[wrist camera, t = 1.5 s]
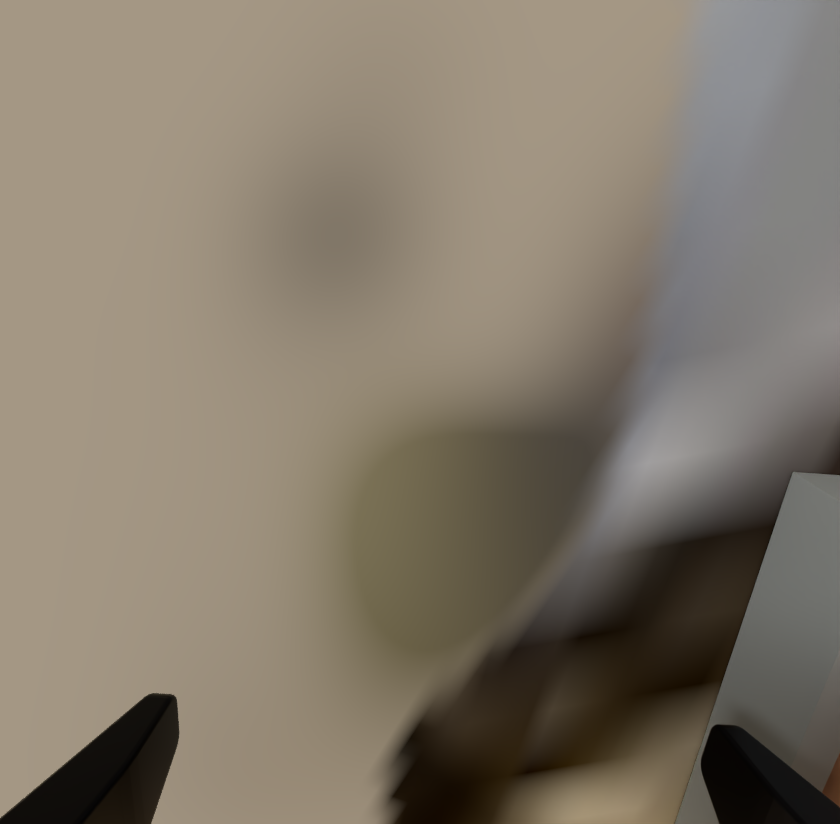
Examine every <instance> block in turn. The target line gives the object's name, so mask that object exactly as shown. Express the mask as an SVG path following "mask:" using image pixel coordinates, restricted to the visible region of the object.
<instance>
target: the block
mask: <svg viewBox="0 0 840 824" xmlns="http://www.w3.org/2000/svg"><path fill="white" fill-rule="evenodd" d="M822 793H823V794H824V795H826V796H827V797H828V798H829V799H830V800H832V801H833V802H834V803H835V804H837V805H838V806H839V807H840V753H839V755H838V758H837V760H836V762H835V764H834V767H833V769H832V771H831V773H830V776H829V778H828V780H827V782H826V784H825V787H824V789H823V791H822Z"/></svg>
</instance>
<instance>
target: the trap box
mask: <svg viewBox="0 0 840 824" xmlns="http://www.w3.org/2000/svg"><path fill="white" fill-rule="evenodd" d="M716 724H724V725H736V726H739V727H741V728H743V729H744V730H746V731H747V732H748V733H749V734H751V735H752V736H753V737H754V738H755V739H757V740H758V741H759V742H760V743H762V744H763V745H764V746H765V747H767V748H768V749H769V750H770V751H771V752H773V753H774V754H775V755H776V756H778V757H779V758H780V759H781V760H783V761H784V762H785V763H786V764H787V765H789V766H790V767H791V768H792V769H794V770H795V771H796V772H797V773H798V774H800V775H801V776H802V777H803V778H805V779H806V780H807V781H808V782H810V783H811V784H812V785H813V786H814V787H816V788H817V789H818V790H819V791H821V792H822V791H823V789H824V787H825V784H826V782H827V780H828V778H829V776H830V773H831V771H832V769H833V767H834V764H835V762H836V760H837V758H838V755H839V753H840V475H828V474H814V473H801V472H793V473H792V476H791V479H790V482H789V485H788V488H787V491H786V494H785V497H784V500H783V503H782V506H781V509H780V512H779V515H778V518H777V521H776V524H775V527H774V530H773V533H772V536H771V539H770V542H769V545H768V548H767V551H766V554H765V556H764V559H763V562H762V565H761V568H760V571H759V574H758V577H757V580H756V583H755V586H754V589H753V592H752V595H751V598H750V601H749V604H748V607H747V610H746V613H745V616H744V619H743V622H742V625H741V628H740V631H739V634H738V637H737V640H736V643H735V646H734V649H733V652H732V655H731V658H730V661H729V664H728V667H727V670H726V673H725V676H724V679H723V682H722V685H721V688H720V690H719V693H718V696H717V699H716V702H715V705H714V708H713V711H712V714H711V717H710V720H709V723H708V726H707V729H706V732H705V735H704V738H703V741H702V744H701V747H700V750H699V753H698V756H697V759H696V762H695V765H694V768H693V771H692V774H691V777H690V780H689V783H688V786H687V789H686V792H685V795H684V798H683V801H682V804H681V807H680V810H679V813H678V816H677V819H676V822H675V824H719V822H718V820H717V817H716V814H715V811H714V808H713V805H712V802H711V799H710V796H709V793H708V791H707V788H706V785H705V782H704V779H703V776H702V772H701V757H702V754H703V751H704V748H705V745H706V742H707V739H708V736H709V733H710V730H711V728H712V727H713V726H714V725H716Z"/></svg>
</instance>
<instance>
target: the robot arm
mask: <svg viewBox="0 0 840 824" xmlns="http://www.w3.org/2000/svg"><path fill="white" fill-rule="evenodd" d="M178 739H179V721H178V708H177V699H176V697H175V696H174V695H171V694H159V693H152V694H149V695H147V696H146V697H144V698H143V699H142V700H141V701H139V702H138V703H137V704H136V705H135V706H133V707H132V708H131V709H130V710H129V711H127V712H126V713H125V714H124V715H123V716H121V717H120V718H119V719H118V720H117V721H116V722H114V723H113V724H112V725H111V726H109V728H107V729H106V730H105V731H104V732H102V733H101V734H100V735H99V736H98V737H96V738H95V739H94V740H93V741H92V742H90V743H89V744H88V745H87V746H86V747H84V748H83V749H82V750H81V751H80V752H78V753H77V754H76V755H75V756H74V757H72V758H71V759H70V760H69V761H68V762H66V763H65V764H64V765H63V766H62V767H61V768H59V769H58V770H57V771H56V772H55V773H53V774H52V775H51V776H50V777H49V778H47V779H46V780H45V781H44V782H43V783H41V784H40V785H39V786H38V787H37V788H36V789H34V790H33V791H32V792H31V793H29V794H28V795H27V796H26V797H25V798H24V799H22V800H21V801H20V802H19V803H18V804H16V805H15V806H14V807H13V808H12V809H10V810H9V811H8V812H7V813H6V814H5V815H3V816H2V817H1V818H0V824H151V822H152V819H153V816H154V814H155V811H156V808H157V805H158V802H159V799H160V796H161V793H162V790H163V787H164V784H165V781H166V778H167V775H168V772H169V769H170V766H171V763H172V760H173V757H174V754H175V751H176V748H177V744H178ZM701 772H702V776H703V779H704V782H705V785H706V788H707V791H708V793H709V796H710V799H711V802H712V805H713V808H714V811H715V814H716V817H717V820H718V822H719V824H840V807H839V806H838V805H837V804H835V803H834V802H833V801H832V800H830V799H829V798H828V797H827V796H826V795H824V794H823V793H822V792H821V791H819V790H818V789H817V788H816V787H814V786H813V785H812V784H811V783H810V782H808V781H807V780H806V779H805V778H803V777H802V776H801V775H800V774H798V773H797V772H796V771H795V770H794V769H792V768H791V767H790V766H789V765H787V764H786V763H785V762H784V761H783V760H781V759H780V758H779V757H778V756H776V755H775V754H774V753H773V752H771V751H770V750H769V749H768V748H767V747H765V746H764V745H763V744H762V743H760V742H759V741H758V740H757V739H755V738H754V737H753V736H752V735H751V734H749V733H748V732H747V731H746V730H744V729H743V728H741V727H739V726H736V725H724V724H716V725H714V726H713V727H712V728H711V730H710V733H709V736H708V739H707V742H706V745H705V748H704V751H703V754H702V757H701Z"/></svg>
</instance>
